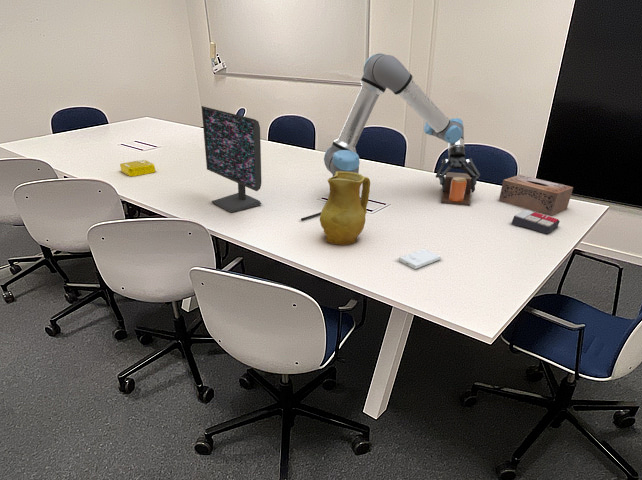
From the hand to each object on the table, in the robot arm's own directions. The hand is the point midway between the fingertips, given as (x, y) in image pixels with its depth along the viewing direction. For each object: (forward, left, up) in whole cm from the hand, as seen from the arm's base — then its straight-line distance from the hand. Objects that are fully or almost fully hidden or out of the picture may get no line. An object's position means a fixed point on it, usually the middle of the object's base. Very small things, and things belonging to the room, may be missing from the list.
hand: (458, 190), depth 207 cm
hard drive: (-67, +11, -6) cm, 68 cm away
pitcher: (-56, +41, -6) cm, 70 cm away
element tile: (+2, +175, -6) cm, 175 cm away
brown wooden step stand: (+9, 0, -6) cm, 11 cm away
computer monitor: (-32, +98, -6) cm, 104 cm away
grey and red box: (-20, -32, -6) cm, 38 cm away
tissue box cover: (+8, -34, -6) cm, 35 cm away
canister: (+2, 0, -5) cm, 5 cm away
